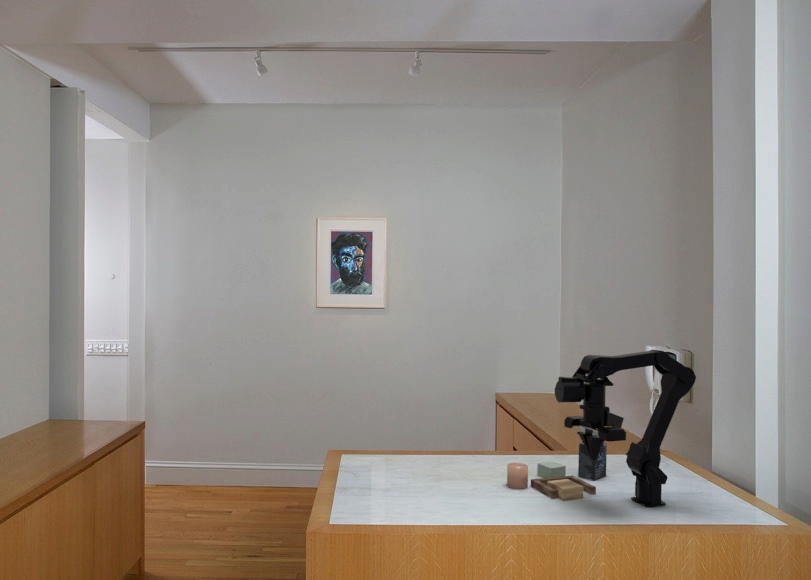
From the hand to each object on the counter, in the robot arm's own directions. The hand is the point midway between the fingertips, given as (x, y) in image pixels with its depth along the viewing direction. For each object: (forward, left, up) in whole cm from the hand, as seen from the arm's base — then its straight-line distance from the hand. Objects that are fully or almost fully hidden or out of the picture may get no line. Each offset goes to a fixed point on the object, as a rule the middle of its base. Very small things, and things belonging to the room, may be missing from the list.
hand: (593, 460), depth 154 cm
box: (+21, -16, -12) cm, 29 cm away
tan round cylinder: (+19, +12, -12) cm, 26 cm away
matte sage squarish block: (+24, -3, -12) cm, 27 cm away
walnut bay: (+13, +1, -12) cm, 18 cm away
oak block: (+8, +3, -12) cm, 15 cm away
